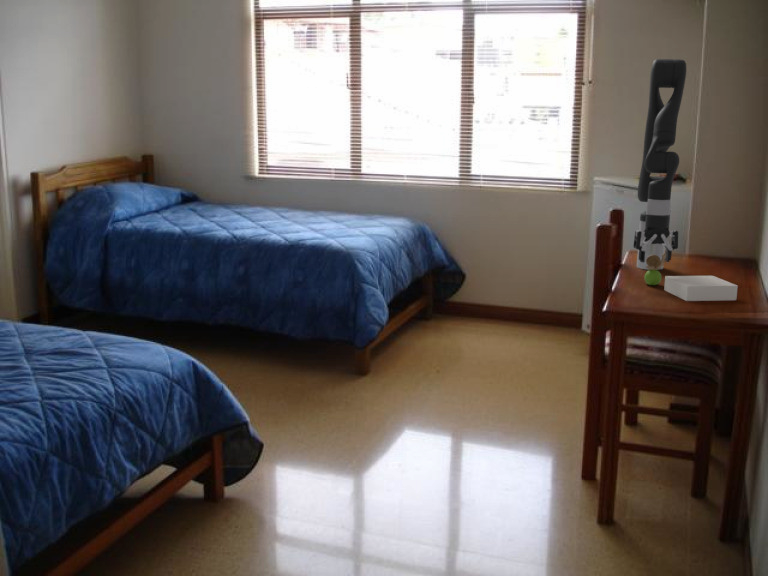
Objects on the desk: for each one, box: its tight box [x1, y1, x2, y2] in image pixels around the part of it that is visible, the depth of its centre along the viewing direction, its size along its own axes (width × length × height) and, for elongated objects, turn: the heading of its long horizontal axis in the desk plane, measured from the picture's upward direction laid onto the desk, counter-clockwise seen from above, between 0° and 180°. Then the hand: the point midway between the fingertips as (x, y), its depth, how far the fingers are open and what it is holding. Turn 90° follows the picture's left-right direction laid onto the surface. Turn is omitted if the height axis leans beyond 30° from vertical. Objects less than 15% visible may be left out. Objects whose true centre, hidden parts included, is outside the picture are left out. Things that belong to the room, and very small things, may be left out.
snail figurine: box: [644, 249, 667, 287], centre depth 270 cm, size 5×6×12 cm
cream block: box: [663, 275, 739, 302], centre depth 258 cm, size 16×16×5 cm
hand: (654, 261), depth 270 cm, fingers open, 8 cm apart
